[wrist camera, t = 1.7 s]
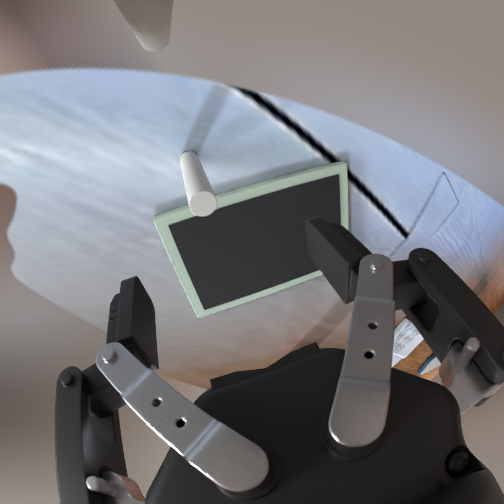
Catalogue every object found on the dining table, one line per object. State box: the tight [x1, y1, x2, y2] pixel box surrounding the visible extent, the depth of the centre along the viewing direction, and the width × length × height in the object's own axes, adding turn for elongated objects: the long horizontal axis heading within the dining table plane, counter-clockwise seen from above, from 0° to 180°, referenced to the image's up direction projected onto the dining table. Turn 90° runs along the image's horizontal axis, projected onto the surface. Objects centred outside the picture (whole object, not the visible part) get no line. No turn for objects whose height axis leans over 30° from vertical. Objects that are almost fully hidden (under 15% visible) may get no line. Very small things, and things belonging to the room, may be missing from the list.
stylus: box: [180, 151, 217, 216], centre depth 23 cm, size 2×2×12 cm
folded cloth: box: [392, 319, 424, 367], centre depth 66 cm, size 19×20×2 cm
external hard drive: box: [418, 354, 441, 375], centre depth 89 cm, size 24×12×2 cm, turn 79°
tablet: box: [153, 161, 348, 318], centre depth 35 cm, size 16×23×1 cm
